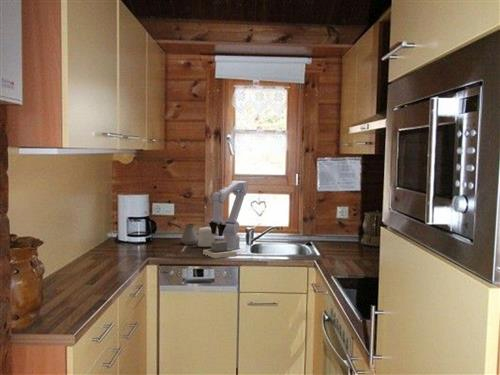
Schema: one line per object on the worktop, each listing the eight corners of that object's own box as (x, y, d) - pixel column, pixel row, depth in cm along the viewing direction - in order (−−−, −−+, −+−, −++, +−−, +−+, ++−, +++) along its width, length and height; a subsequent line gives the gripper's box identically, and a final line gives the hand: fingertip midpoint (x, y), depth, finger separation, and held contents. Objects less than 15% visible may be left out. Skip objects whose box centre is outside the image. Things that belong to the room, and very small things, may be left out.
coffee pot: (191, 241, 308) (192, 219, 307) (201, 244, 300) (202, 221, 299) (164, 244, 294) (164, 221, 293) (174, 247, 286) (174, 224, 285)
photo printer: (213, 245, 296) (214, 226, 295) (214, 247, 292) (214, 227, 291) (197, 245, 295) (198, 226, 294) (198, 247, 290) (198, 227, 290)
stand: (224, 251, 278) (224, 247, 278) (236, 255, 268) (236, 251, 268) (203, 254, 270) (203, 249, 269) (214, 258, 259) (214, 253, 259)
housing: (211, 250, 268) (211, 241, 267) (222, 249, 272) (223, 240, 272) (215, 251, 264) (215, 243, 264) (226, 250, 269) (227, 241, 268)
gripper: (205, 211, 279) (205, 233, 279) (218, 214, 267) (217, 237, 268) (215, 211, 283) (215, 233, 284) (228, 213, 271) (227, 236, 272)
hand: (217, 235), depth 276 cm, fingers open, 7 cm apart
